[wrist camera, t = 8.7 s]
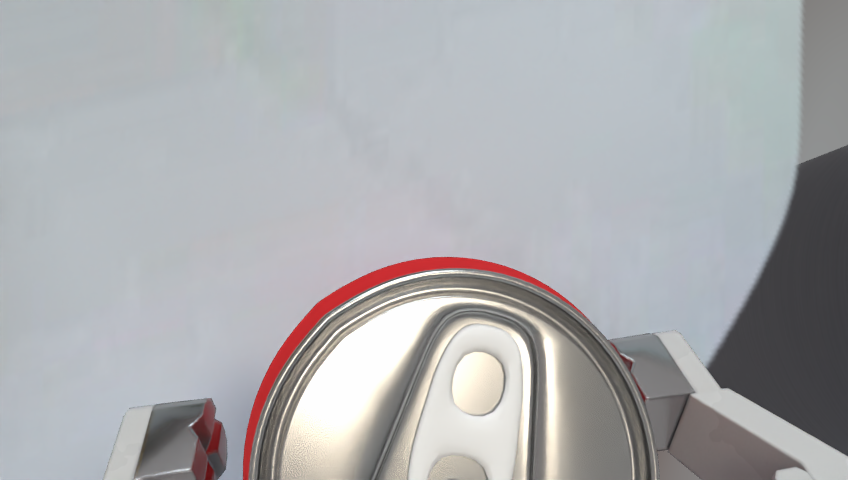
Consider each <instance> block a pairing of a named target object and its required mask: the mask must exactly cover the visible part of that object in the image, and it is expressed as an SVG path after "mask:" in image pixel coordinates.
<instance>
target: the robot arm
mask: <svg viewBox="0 0 848 480" xmlns="http://www.w3.org/2000/svg"><path fill="white" fill-rule="evenodd" d="M608 341H609V342H610V344H611V345H612V346H613V347H614V349H615V350H616V351H617V353H618V354H619V356H620V357H621V359H622V360H623V361H624V363H625V365H626V366H627V368H628V370H629V371H630V373H631V375H632V377H633V379H634V381H635V383H636V385H637V387H638V389H639V391H640V393H641V396H642V398H643V401H644V403H645V406H646V409H647V412H648V415H649V418H650V421H651V425H652V429H653V433H654V437H655V442H656V448H657V451H662V450H668V452H669V453H670V454H671V455H672V456H674V457H675V458H676V459H677V460H678V461H680V462H681V463H682V464H683V465H685V466H686V467H687V468H688V469H689V470H691V471H692V472H693V473H694V474H695V475H697V476H698V477H699V478H700V479H702V480H848V456H846V455H844V454H843V453H841V452H839V451H837V450H836V449H834V448H832V447H830V446H829V445H827V444H825V443H823V442H822V441H820V440H818V439H816V438H815V437H813V436H811V435H809V434H808V433H806V432H804V431H802V430H801V429H799V428H797V427H795V426H794V425H792V424H790V423H788V422H787V421H785V420H783V419H781V418H780V417H778V416H776V415H774V414H772V413H771V412H769V411H767V410H765V409H764V408H762V407H760V406H758V405H757V404H755V403H753V402H751V401H750V400H748V399H746V398H744V397H743V396H741V395H739V394H737V393H736V392H734V391H732V390H730V389H729V388H726V389H721V388H720V386H719V385H718V384H717V382H716V381H715V380H714V378H713V377H712V376H711V374H710V373H709V371H708V370H707V369H706V367H705V366H704V365H703V363H702V362H701V361H700V359H699V358H698V357H697V355H696V354H695V352H694V351H693V350H692V348H691V347H690V346H689V344H688V343H687V342H686V340H685V339H684V337H683V336H682V335H681V333H679V332H678V331H676V330H672V331H665V332H658V333H652V334H650V333H648V334H642V335H636V336H629V337H623V338H617V339H610V340H608ZM215 413H216V407H215V405H214V403H213V401H212V398H205V399H197V400H188V401H180V402H171V403H163V404H156V405H148V406H141V407H133V408H129V409H128V411H127V412H126V413H125V415H124V416H123V419H122V422H121V425H120V428H119V431H118V434H117V438H116V441H115V444H114V447H113V450H112V453H111V456H110V459H109V462H108V465H107V468H106V471H105V475H104V478H103V480H218V478H219V477H220V476H221V475H222V473H223V472H224V471H225V470H226V461H227V439H226V434H225V430H224V427H223V425H222V422H220V421H218V420H216V419H215Z"/></svg>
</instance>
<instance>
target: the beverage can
mask: <svg viewBox="0 0 848 480" xmlns="http://www.w3.org/2000/svg"><path fill="white" fill-rule="evenodd" d="M243 480H659V465H658V454H657V448H656V442H655V437H654V433H653V429H652V425H651V421H650V418H649V415H648V412H647V409H646V406H645V403H644V401H643V398H642V396H641V393H640V391H639V389H638V387H637V385H636V383H635V381H634V379H633V377H632V375H631V373H630V371H629V370H628V368H627V366H626V365H625V363H624V361H623V360H622V359H621V357H620V356H619V354H618V353H617V351H616V350H615V349H614V347H613V346H612V345H611V344H610V342H609V341H608V340H607V339H606V337H605V336H604V335H603V334H602V333H601V332H600V331H599V330H598V329H597V328H596V327H595V326H594V325H593V324H592V323H591V322H590V321H589V320H588V319H587V317H586V316H585V315H584V314H583V313H582V312H581V311H579V310H578V309H577V308H576V307H575V306H574V305H573V304H572V303H571V302H569V301H568V300H567V299H566V298H564V297H563V296H562V295H560V294H559V293H558V292H556V291H555V290H553V289H552V288H550V287H549V286H547V285H545V284H543V283H542V282H540V281H538V280H536V279H535V278H533V277H530V276H528V275H526V274H524V273H522V272H519V271H517V270H514V269H511V268H509V267H506V266H502V265H499V264H496V263H492V262H487V261H482V260H477V259H469V258H458V257H433V258H424V259H416V260H411V261H406V262H402V263H398V264H394V265H391V266H387V267H385V268H382V269H379V270H376V271H374V272H371V273H369V274H367V275H365V276H363V277H360V278H358V279H356V280H355V281H353V282H351V283H349V284H347V285H345V286H343V287H342V288H340V289H338V290H336V291H335V292H333V293H332V294H330V295H328V296H327V297H325V298H324V299H322V300H321V301H320V302H318V303H317V304H316V305H315V306H314V307H313V308H312V309H311V311H310V312H309V313H308V314H307V315H306V316H305V317H304V318H303V320H302V321H301V322H300V323H299V324H298V326H297V327H296V328H295V329H294V330H293V332H292V333H291V334H290V336H289V337H288V338H287V340H286V341H285V342H284V344H283V345H282V347H281V348H280V350H279V351H278V353H277V354H276V356H275V358H274V360H273V361H272V363H271V365H270V367H269V369H268V371H267V373H266V375H265V377H264V379H263V381H262V383H261V386H260V388H259V391H258V393H257V396H256V399H255V402H254V405H253V408H252V411H251V415H250V419H249V424H248V428H247V434H246V440H245V447H244V459H243Z"/></svg>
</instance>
